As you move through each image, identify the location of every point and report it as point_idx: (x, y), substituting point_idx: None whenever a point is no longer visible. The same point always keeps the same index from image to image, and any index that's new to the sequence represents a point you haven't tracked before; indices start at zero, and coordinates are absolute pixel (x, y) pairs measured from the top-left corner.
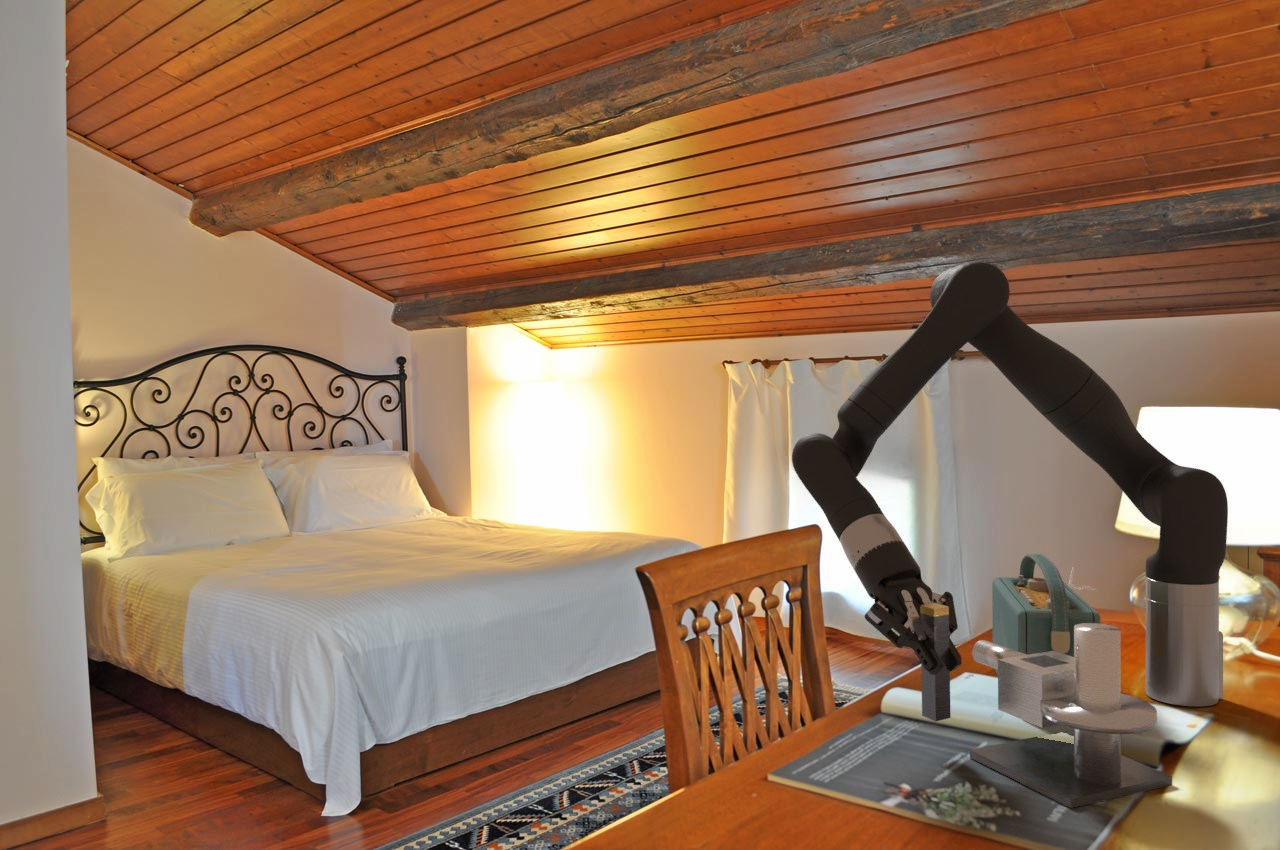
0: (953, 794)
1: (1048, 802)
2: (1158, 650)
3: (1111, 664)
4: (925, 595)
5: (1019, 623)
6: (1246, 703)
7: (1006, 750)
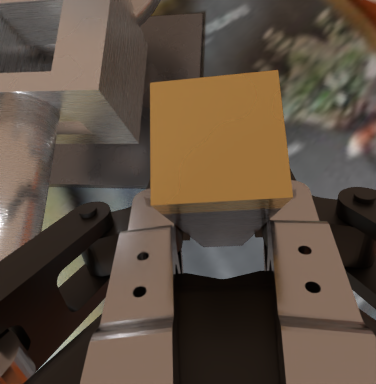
0: (306, 100)
1: (212, 42)
2: None
3: None
4: (116, 343)
5: None
6: None
7: (148, 160)
